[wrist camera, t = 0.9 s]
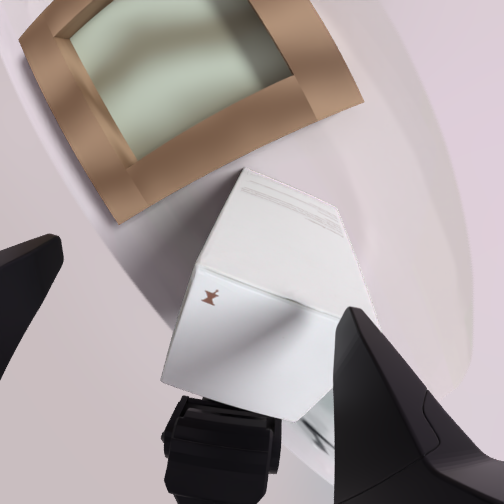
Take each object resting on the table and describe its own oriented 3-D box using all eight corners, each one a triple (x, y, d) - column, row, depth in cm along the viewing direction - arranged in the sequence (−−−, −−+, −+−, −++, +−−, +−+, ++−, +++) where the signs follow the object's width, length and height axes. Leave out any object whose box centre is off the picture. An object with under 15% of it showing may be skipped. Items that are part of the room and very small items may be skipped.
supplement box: (208, 250, 24) (152, 382, 13) (244, 163, 21) (192, 258, 10) (295, 286, 25) (294, 427, 14) (341, 207, 21) (388, 334, 10)
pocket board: (355, 100, 18) (364, 102, 15) (133, 211, 23) (118, 225, 21) (226, -93, 11) (220, -109, 8) (38, 39, 16) (18, 39, 14)
